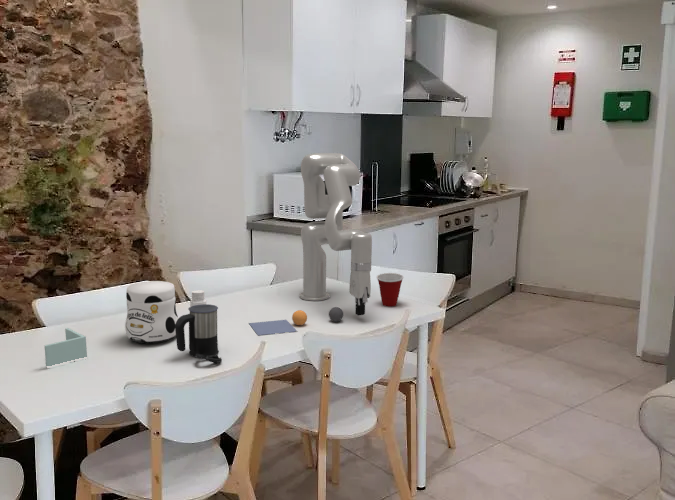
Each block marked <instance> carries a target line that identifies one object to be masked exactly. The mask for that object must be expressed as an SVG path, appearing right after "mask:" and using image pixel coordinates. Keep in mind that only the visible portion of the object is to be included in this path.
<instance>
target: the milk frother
mask: <svg viewBox="0 0 675 500" xmlns="http://www.w3.org/2000/svg"><path fill="white" fill-rule="evenodd" d="M218 310H219V307H218V306H217V305H214V304H207V303H206V304H201V305H194V306H191V307H188V311H189V313H187V314H182V315H181V316H179V317H178V320H177V322H176V324H175V331H176V336H175V338H176V339H175V340H176V349H177V350H178V351H180V352H185V351H186V337H185V327H186V325H187V324H188V348H189V352H188V354H189V355H190V356H192V357H194V358H198V359H202V360H205V361H208V362H209V363H213V364H215V365H216V364H218V363H222V361H223V359H222V357H219V355H218V354H219V352H220V351H219V345H218Z"/></svg>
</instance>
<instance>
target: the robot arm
mask: <svg viewBox="0 0 675 500" xmlns="http://www.w3.org/2000/svg"><path fill="white" fill-rule="evenodd" d="M300 173H301V176H302V181H303V199H304V200H303V204H304V207H303V208H304V215H305V217H307V218H309V219H313V220H314V219H316V220H317V219H324V220H325V221H324V220H323V221H311V222H307V223H305V224H304V225H303V226H302V227H301V229H300V237H301V243H302V254H303V257H302V261H303V265H302V266H303V267H302V273H303V274H302V275H303V277H302V291H301V292H300V293H299V298H300V299H302V300H305V301H314V302H315V301H317V302H319V301H325V300H327V299H328V300H329V298H330V293H329V292H328V291H327V254H326V252H325V250H324V248H323V247H322V246H323V245H329V248H331V250H332V251H336V252H341V251H350V276H349V289H348V290H349V292H348V293H349V294H351V296H353V297H354V303H355V315H356V316H365V315H366V303H369V302H368V299H370V297H371V293H372V292H371V291H372V290H371V289H372V288H371V287H372V285H371V272H372V253H373V252H372V248H373V247H372V246H373V245H372V244H373V237H372V235H371V234H370V233H368V232H364V231H362V230H361V229H358V228H357V229H343V227H344V226H343V221H344V220H343V219H344V218H343V217H344V216H343V214H344V213H343V212H344V210H346V209H348V208H349V207H350V206H351V205H352V204H353V199H352V198H353V197H352V193H351V189H350V187H354V186H357V185H358V184H359V183H360V180H361V172H360V170H359V168H358V166H357V165H356V164H355V163H354V162H353V161H352V160H350V158H348V157H347V156H346V155H345V154H343V153H339V152H316V153H315V152H314V153H308V154H306V155H305V156H304V157H302V159H301V164H300ZM321 175H323V178H322V176H321ZM326 192H327V194H326Z"/></svg>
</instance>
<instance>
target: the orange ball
mask: <svg viewBox="0 0 675 500" xmlns="http://www.w3.org/2000/svg"><path fill="white" fill-rule="evenodd" d="M307 319H308V315H307V313H306V312H305V311H304V310H296V311H294V312H293V313H292V316H291V320H292V322H293V324H294V325H295V326H296V325H297V326H303V325H304V324H305V323H307Z"/></svg>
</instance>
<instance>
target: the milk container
mask: <svg viewBox="0 0 675 500" xmlns="http://www.w3.org/2000/svg"><path fill="white" fill-rule="evenodd" d="M126 287H127V288H126V294H125V295H126V297H125V298H126V310H127V312H126V313H127V314H126V318H125V322H124V328H125V329H124V330H125V335H126V337H127V338H128V339H129V340H130V341H132V342H134V343H139V344H159V343H163V342H167V341H169V340H171V339H173V338H174V337H175V338H176V331H175V324H176V322H177V320H178V319H179V317H178V316H179V315H178V313H177V309H176V307H177V306H176V289H175V288H176V287H175V284H174V283H172V282H169V281H161V280H151V281H149V280H147V281H139V282H136V283H135V282H134V283H132V284H129V285H128V286H126Z"/></svg>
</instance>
